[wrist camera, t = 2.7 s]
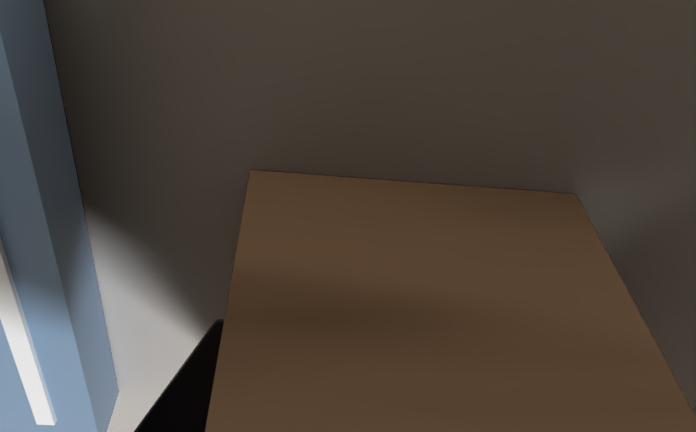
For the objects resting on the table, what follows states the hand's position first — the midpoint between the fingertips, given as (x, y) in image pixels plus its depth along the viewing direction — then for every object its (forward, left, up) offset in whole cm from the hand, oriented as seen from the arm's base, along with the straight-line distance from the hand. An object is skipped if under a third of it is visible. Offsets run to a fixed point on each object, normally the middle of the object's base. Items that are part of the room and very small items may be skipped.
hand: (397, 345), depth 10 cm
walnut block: (0, 0, -1) cm, 1 cm away
